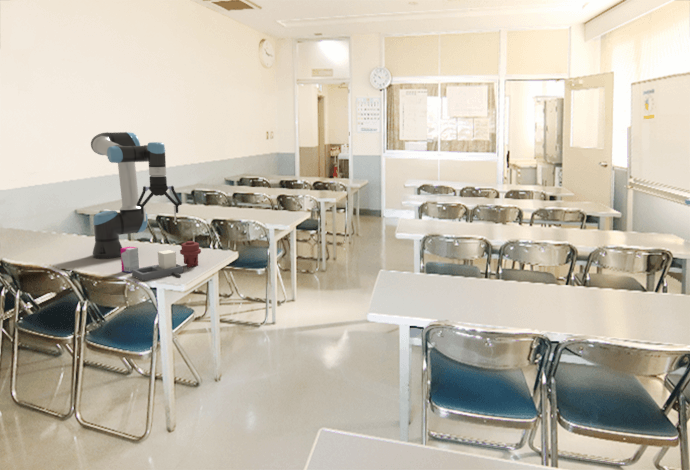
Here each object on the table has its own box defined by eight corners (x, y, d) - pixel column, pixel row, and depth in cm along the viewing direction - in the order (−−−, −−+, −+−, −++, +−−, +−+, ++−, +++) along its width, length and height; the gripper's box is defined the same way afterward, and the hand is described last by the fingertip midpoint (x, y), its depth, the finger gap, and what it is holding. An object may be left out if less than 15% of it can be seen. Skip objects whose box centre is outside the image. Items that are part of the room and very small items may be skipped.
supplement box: (139, 270, 257) (138, 247, 254) (130, 273, 251) (128, 249, 249) (131, 268, 259) (129, 245, 256) (121, 271, 254) (119, 248, 251)
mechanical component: (205, 263, 269) (195, 269, 260) (186, 262, 271) (177, 267, 262) (203, 240, 267) (194, 244, 257) (185, 239, 269) (175, 243, 259)
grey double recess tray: (132, 275, 247) (130, 255, 245) (172, 267, 261) (171, 248, 259) (149, 284, 235) (147, 262, 233) (190, 275, 249) (189, 254, 247)
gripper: (128, 177, 241) (131, 222, 245) (185, 176, 248) (187, 220, 253) (129, 175, 248) (132, 219, 252) (185, 174, 255) (187, 217, 260)
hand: (160, 220), depth 253 cm, fingers open, 13 cm apart
